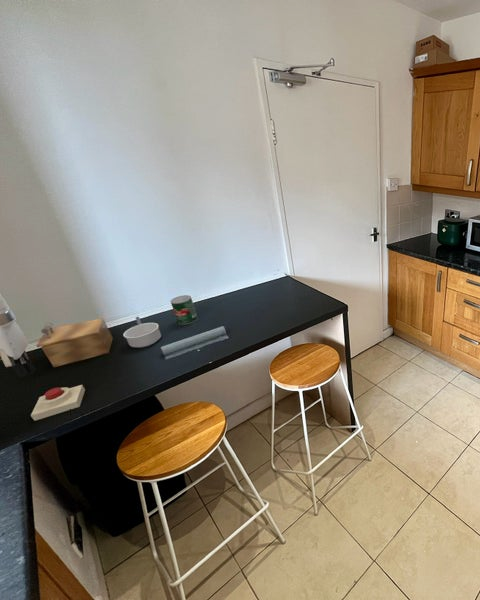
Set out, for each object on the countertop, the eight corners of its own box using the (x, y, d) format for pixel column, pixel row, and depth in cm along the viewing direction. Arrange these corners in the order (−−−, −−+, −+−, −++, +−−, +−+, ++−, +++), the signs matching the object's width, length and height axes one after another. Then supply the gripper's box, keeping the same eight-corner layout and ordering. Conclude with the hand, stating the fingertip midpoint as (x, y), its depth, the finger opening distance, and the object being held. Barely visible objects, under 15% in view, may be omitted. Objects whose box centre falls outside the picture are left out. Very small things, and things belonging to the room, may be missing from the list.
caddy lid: (37, 347, 110) (30, 335, 107) (47, 331, 119) (41, 320, 117) (98, 334, 118) (93, 323, 116) (103, 319, 127) (99, 309, 125)
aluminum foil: (224, 331, 136) (222, 324, 134) (229, 337, 131) (227, 331, 130) (162, 353, 122) (159, 345, 120) (165, 360, 118) (162, 353, 116)
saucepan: (157, 323, 142) (153, 312, 139) (165, 341, 129) (160, 330, 126) (125, 332, 135) (120, 321, 132) (130, 353, 122) (124, 341, 119)
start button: (45, 401, 94) (42, 397, 94) (49, 394, 97) (46, 390, 96) (62, 397, 96) (59, 392, 95) (65, 390, 99) (62, 385, 98)
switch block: (34, 420, 92) (27, 411, 91) (43, 402, 99) (36, 392, 97) (79, 406, 97) (73, 397, 96) (85, 389, 104) (79, 380, 102)
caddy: (53, 367, 114) (41, 347, 110) (62, 350, 124) (51, 331, 120) (108, 353, 122) (99, 334, 118) (112, 337, 131) (103, 319, 127)
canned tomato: (177, 326, 139) (169, 304, 134) (178, 318, 145) (171, 297, 140) (198, 322, 143) (190, 300, 138) (198, 314, 149) (191, 293, 144)
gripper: (-17, 311, 86) (17, 364, 95) (-44, 337, 75) (-2, 394, 84) (22, 305, 90) (52, 356, 98) (2, 328, 79) (38, 384, 87)
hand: (27, 373), depth 91 cm, fingers closed
